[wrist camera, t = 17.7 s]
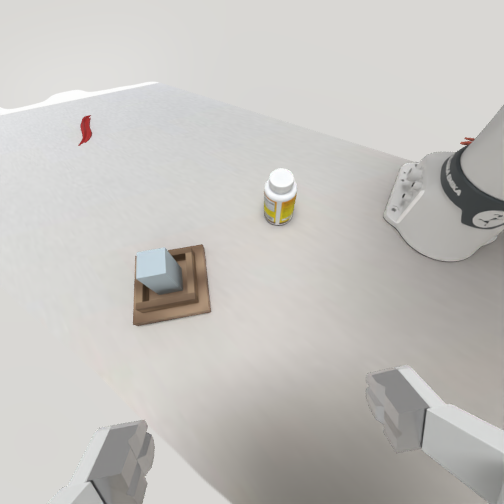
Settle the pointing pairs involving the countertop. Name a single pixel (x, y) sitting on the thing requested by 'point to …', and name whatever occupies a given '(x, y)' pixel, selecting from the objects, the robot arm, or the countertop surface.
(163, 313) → the board
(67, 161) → the countertop surface
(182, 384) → the countertop surface
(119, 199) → the countertop surface
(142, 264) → the block
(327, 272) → the countertop surface
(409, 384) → the robot arm
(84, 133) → the cayenne pepper
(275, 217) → the supplement bottle
